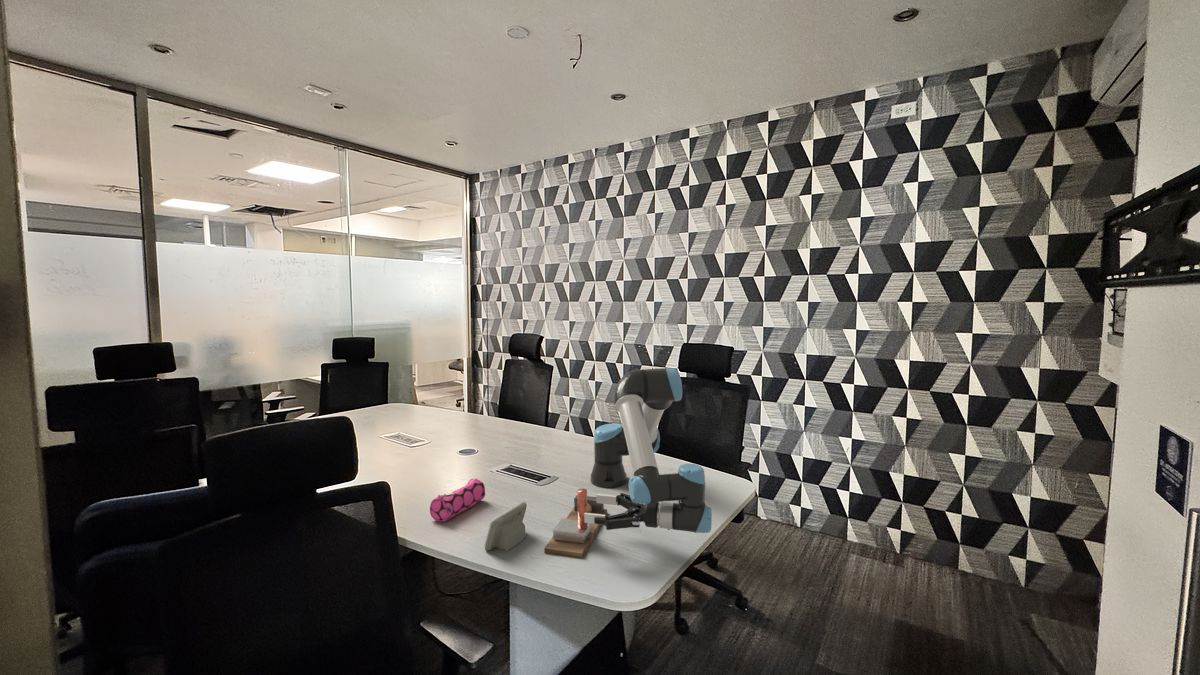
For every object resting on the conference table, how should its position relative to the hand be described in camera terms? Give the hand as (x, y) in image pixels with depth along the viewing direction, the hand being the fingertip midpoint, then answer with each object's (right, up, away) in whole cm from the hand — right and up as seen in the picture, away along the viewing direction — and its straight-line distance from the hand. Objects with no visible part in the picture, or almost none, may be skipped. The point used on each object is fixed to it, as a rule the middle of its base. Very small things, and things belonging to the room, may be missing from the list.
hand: (590, 507), depth 148 cm
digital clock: (-27, -12, +4) cm, 30 cm away
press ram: (-6, -10, +3) cm, 12 cm away
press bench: (-4, -11, +9) cm, 15 cm away
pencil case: (-48, -11, +26) cm, 56 cm away
